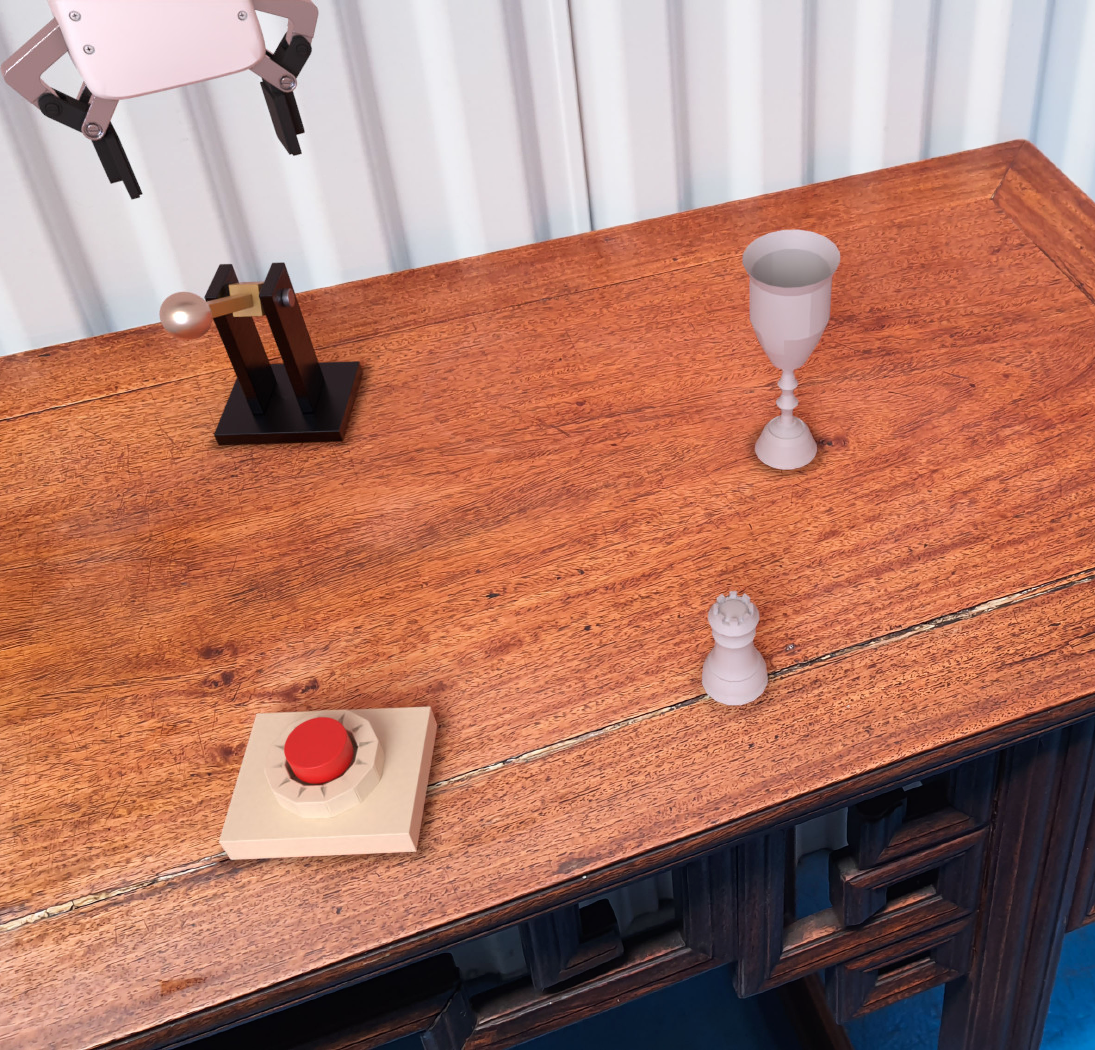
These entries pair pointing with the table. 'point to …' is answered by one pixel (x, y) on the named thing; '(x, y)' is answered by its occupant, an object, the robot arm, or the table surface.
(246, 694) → the table surface
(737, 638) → the rook chess piece
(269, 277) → the switch bracket
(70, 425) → the table surface
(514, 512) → the table surface
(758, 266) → the chalice
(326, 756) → the red button
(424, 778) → the control box
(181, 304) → the switch lever
